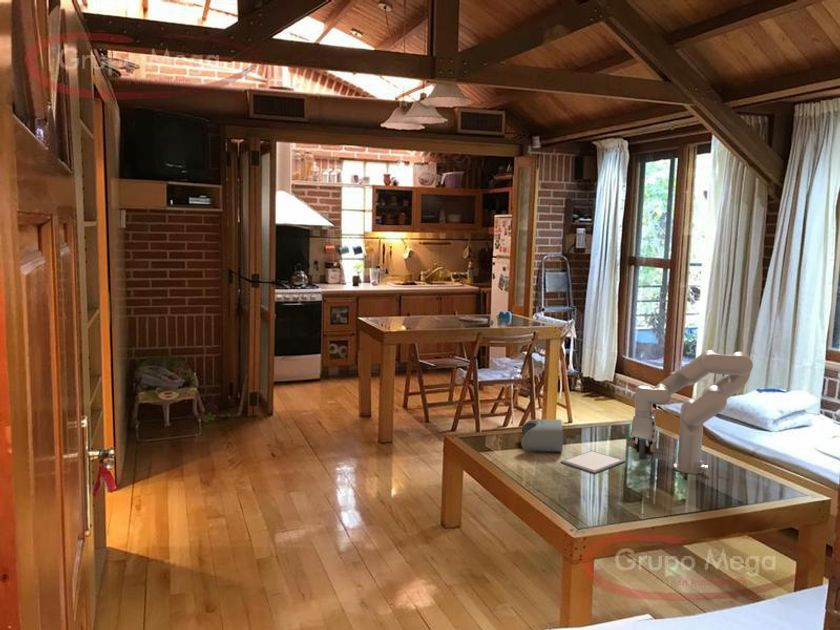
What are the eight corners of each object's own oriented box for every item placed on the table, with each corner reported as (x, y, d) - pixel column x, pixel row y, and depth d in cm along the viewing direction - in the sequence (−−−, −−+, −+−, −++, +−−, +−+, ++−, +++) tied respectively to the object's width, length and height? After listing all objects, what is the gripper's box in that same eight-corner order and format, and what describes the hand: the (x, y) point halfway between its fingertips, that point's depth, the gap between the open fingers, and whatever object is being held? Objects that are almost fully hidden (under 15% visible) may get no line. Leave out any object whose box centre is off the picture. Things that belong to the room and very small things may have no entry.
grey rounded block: (562, 456, 321) (562, 429, 319) (521, 455, 324) (521, 428, 322) (560, 441, 342) (560, 416, 341) (522, 441, 345) (521, 416, 344)
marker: (649, 458, 313) (649, 432, 311) (644, 460, 310) (644, 434, 309) (641, 456, 316) (641, 431, 314) (637, 458, 313) (637, 432, 312)
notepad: (625, 462, 315) (625, 460, 315) (594, 473, 299) (594, 471, 299) (591, 452, 328) (591, 450, 328) (560, 462, 312) (560, 460, 312)
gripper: (665, 415, 307) (664, 455, 309) (631, 408, 319) (631, 447, 321) (656, 418, 302) (655, 459, 304) (622, 411, 314) (622, 450, 316)
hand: (643, 452), depth 313 cm, fingers closed on marker, 3 cm apart
